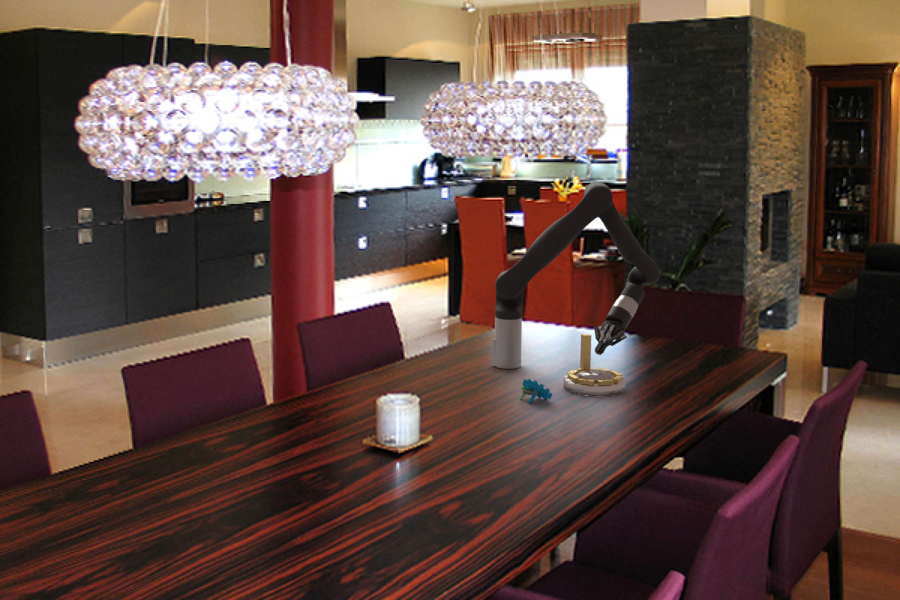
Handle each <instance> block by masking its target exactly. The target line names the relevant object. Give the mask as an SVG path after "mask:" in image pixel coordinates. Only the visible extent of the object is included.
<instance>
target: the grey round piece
mask: <svg viewBox="0 0 900 600" xmlns="http://www.w3.org/2000/svg"><path fill="white" fill-rule="evenodd" d="M567 376H568V374H567V375H565V376H564V377H563V387H564V386H565V387H564V389H565V390H566V391H567V390H568V391H570V392H569V393H571V392H572V393H571V394H574V393H576V394H575V395H577V394H580V395H579V396H583V395H588V396H587V397H592V396H607V397H613V396H612V395H615V396H619V395H621V393H622V394H623V393H625V392H626V380H625V378H624V377H623V380H622V381H621V382H619V383H614V384H612V385H598V384H597V380H607V379H612V380H613V378H615V377H613V376H611V373H610V372H608V371H604V370H595V368H592V369H591V370H583V371H580V372H579V373H578V374H577V375H576V376H577V377H578V378H579V379H580V378H582V379H590V380H595V384H594V385H587V384H580V383H578V382H573V381H571V380H570V379H568V377H567ZM568 391H567V392H568ZM618 394H619V395H618Z"/></svg>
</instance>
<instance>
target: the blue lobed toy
mask: <svg viewBox="0 0 900 600" xmlns="http://www.w3.org/2000/svg"><path fill="white" fill-rule="evenodd" d="M521 385H522V386H521V390H522V391H521V392H522V394H521V396H520V397H519V399H520V400H521V401H522V400H523V399H524V397H526V396H525V395H528V396H530V398H529V400H528V404H532V403H533V401H534V399H535V398H536V397H537V398H538V399H543V400H545V401H546V400H551V399H552V397H553V393H552V392H551V389H550V388H548V387H546V388H544V387H545V385H544V384H542V383H540V384H539V383H538V381H537V380H534V379H533V381H532V379H530V378H528V379H526V378H524V379H523V380H522V384H521Z"/></svg>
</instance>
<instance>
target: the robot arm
mask: <svg viewBox="0 0 900 600" xmlns="http://www.w3.org/2000/svg"><path fill="white" fill-rule="evenodd" d="M597 218H599V220H600V221H601V222H602V224H603V226H604V227H605V229H606V230H607V232H608V235H609V236H610V238H611V240H612V242H613V244H614V246H615V247H616V249H617V251H618V252H619V254H620V255H621V257H622V259H623V260H624V261H625V262H626V263H627V264H630V265H633V266H634V267H632V269H631V270H630V272H629V274H628V276H627V280H626V283H625V287H624V289H623V290H622V291H621V293H620V295H619V297H618V298H617V299H616V300H615V302H614V303H613V305H612V307H611V308H610V310H609V312H608V313H607V315H606V318H605V321H604V322H603V323H602V324H601V326H597V325H595V326H594V327H593V330H594V337H595V340H596V341H597V345H596V346H595V348H594V352H595V354H596V355H599V356H602V354H604V353H605V351H606V349H607V348H609V346H610V347H614V346H615V345H617V344H618V343H620V342H622V341H624V340H626V339H627V334H626V333H625V329H627V327H628V326H629V324H630V322H631V320H632V319H633V318H634V316H635V314H636V312H637V311H638V310H637V309H638V307H639V306H640V305H641V302H642V301H643V299H644V297H645V291H644V289H643V287H644V286H645V285H653V284H655V283H657V282H658V281H659V280H660V276H661V272H660V268H659V266H658V264H657V263H656V262H655V261H654V259H652V257H650V256H649V254H647V252H645V251H644V250H643V249H642V246H641V244H640V243H639V241H638V239H637V238H636V237H635V235H634V234H633V232H632V230H631V229H630V228H629V227H628V225H627V224H626V222H625V220H623V218H622V216H621V214H620V213H619V211H618V210H617V208H616V205H615V203H614V195H613V192H612V190H611V189H610V187H609V186H608V185H607V184H605V183H603V182H602V181H601V182H599V181H594V182H591V183H589V184H588V185H587V186H586V187H585V189H584V191H583V197H582V199H581V200H580V201H579V202H578V203H577V204H576V206H574V208H573V209H572V210H570V211H569V212H568V213H567V214H565V215H564V216H562V217H560V218H559V219H557V220H556V221H554V222H553V223H552V224H550V225H549V226H548V227H547V228H546V229H545V230H544V231H543V232H542V233H541V234H540V235H539V236H538V237H537V238H536V239H535V240H534V242H532V244H531V245H530V247H529V248H528V249H527V251H526V252H525V253H524V254H523V256H522V257H521V258H520V260H518V261H517V262H516V263H515V264H514V265H513V266H511V267H510V268H509V269H507V270H504V271H502V272H500V273H499V274H498V276H497V278H496V280H495V282H494V283H495V284H494V289H495V310H494V313H495V314H494V338H492V340H491V341H492V346H491V347H492V350H491V352H492V353H491V354H492V355H491V356H492V357H491V366H493V367H495V368H499V369H504V370H505V369H506V370H512V369H513V370H514V369H518V368H521V366H522V336H523V335H522V333H523V331H522V330H523V329H522V328H523V327H522V326H523V303H524V302H523V298H524V297H523V296H524V288H526V286H527V285H528V284H529V283H530V281H532V279H533V278H534V277H536V275H537V274H539V272H541V271H542V270H543V269H544V268H546V267H547V266H548V265H550V264H551V263H552V262H553V261H554V260H555V259H556V258H557V257H558V256H560V255H561V254H562V253H563V252H564V251H565V250H566V249H567V248H568V247H569V246H570V245H571V244H572V243H573V241H574V240H576V239H577V237H578V236H579V235H580V234H581V233H582V232H583V231H584V229H585V228H586V227H588V225H590V224H591V223H592V222H594V220H596V219H597Z"/></svg>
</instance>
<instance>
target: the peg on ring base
mask: <svg viewBox="0 0 900 600" xmlns="http://www.w3.org/2000/svg"><path fill="white" fill-rule="evenodd" d="M591 355H592V334H590V333H581V334H580V356H579V357H580V359H579V368H577V369H572V370H570V371H568V372H567V375H568V376H567V377H568V379H570V380H571V381H573V382H578V383H580V384H587V385H594V384H595V380H590V379H582V378H580V379H579V378H578V377H577V376H576V375H577V374H578V373H579V372H580V371H583V370H591V369H593V367H591V363H592V362H591V361H592V360H591V359H592V356H591ZM594 370H604V371H608V372H610V373H611V376H613V377H615V378H613V380H612V379H607V380H597V384H598V385H612V384H614V383H619V382H621V381H622V380H623V378H624V376H623V374H622V373H620V372H619V371H617V370H612V369H609V368H601V367H600V368H599V367H596V368H594Z"/></svg>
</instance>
